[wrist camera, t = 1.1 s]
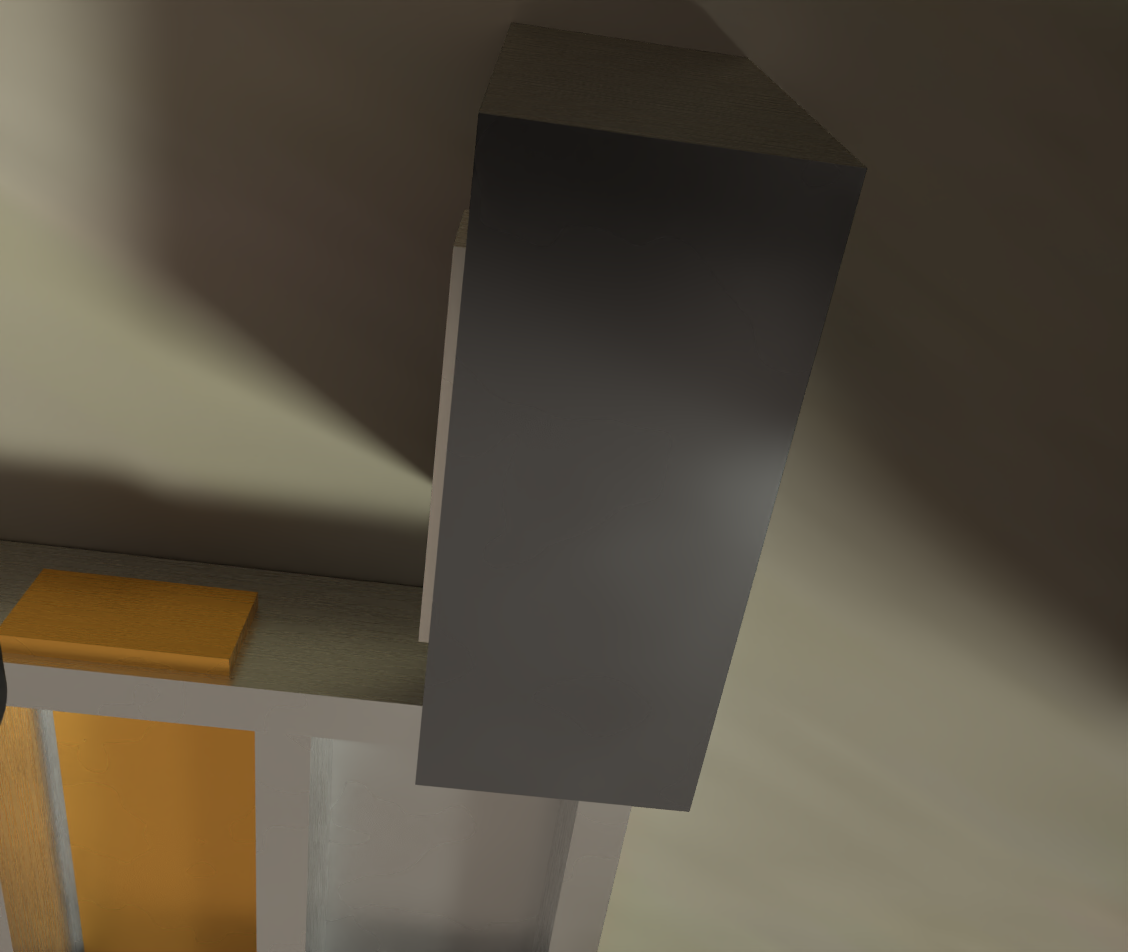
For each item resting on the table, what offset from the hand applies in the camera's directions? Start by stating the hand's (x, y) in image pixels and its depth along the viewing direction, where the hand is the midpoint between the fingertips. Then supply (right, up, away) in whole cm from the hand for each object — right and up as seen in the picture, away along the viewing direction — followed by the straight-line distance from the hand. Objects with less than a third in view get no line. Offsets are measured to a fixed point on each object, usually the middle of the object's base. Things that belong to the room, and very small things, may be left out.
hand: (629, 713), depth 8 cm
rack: (-8, -4, +12) cm, 15 cm away
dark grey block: (0, +4, +7) cm, 8 cm away
